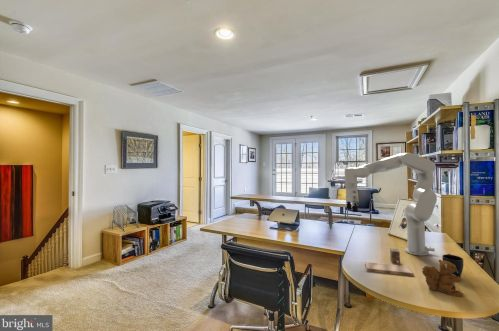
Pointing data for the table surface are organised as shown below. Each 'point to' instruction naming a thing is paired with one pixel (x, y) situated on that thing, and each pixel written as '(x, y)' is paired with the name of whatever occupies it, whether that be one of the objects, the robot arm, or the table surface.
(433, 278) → the stuffed squirrel
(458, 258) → the mug
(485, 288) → the table surface
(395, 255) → the walnut gauge
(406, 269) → the teak board
